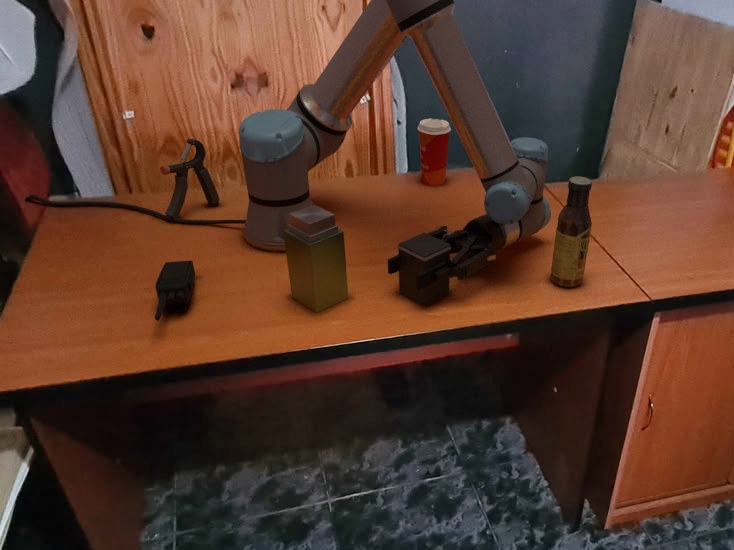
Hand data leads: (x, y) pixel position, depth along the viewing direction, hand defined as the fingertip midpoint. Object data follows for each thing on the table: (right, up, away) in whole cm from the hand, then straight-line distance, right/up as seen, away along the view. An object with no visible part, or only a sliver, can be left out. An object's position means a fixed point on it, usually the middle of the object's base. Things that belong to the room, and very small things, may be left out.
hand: (403, 274), depth 118 cm
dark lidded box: (+3, -3, +7) cm, 8 cm away
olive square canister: (-15, -4, +4) cm, 16 cm away
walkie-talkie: (-38, -6, -1) cm, 39 cm away
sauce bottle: (+30, 0, +14) cm, 33 cm away
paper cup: (+2, +28, +49) cm, 56 cm away
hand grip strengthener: (-48, +16, +28) cm, 58 cm away
